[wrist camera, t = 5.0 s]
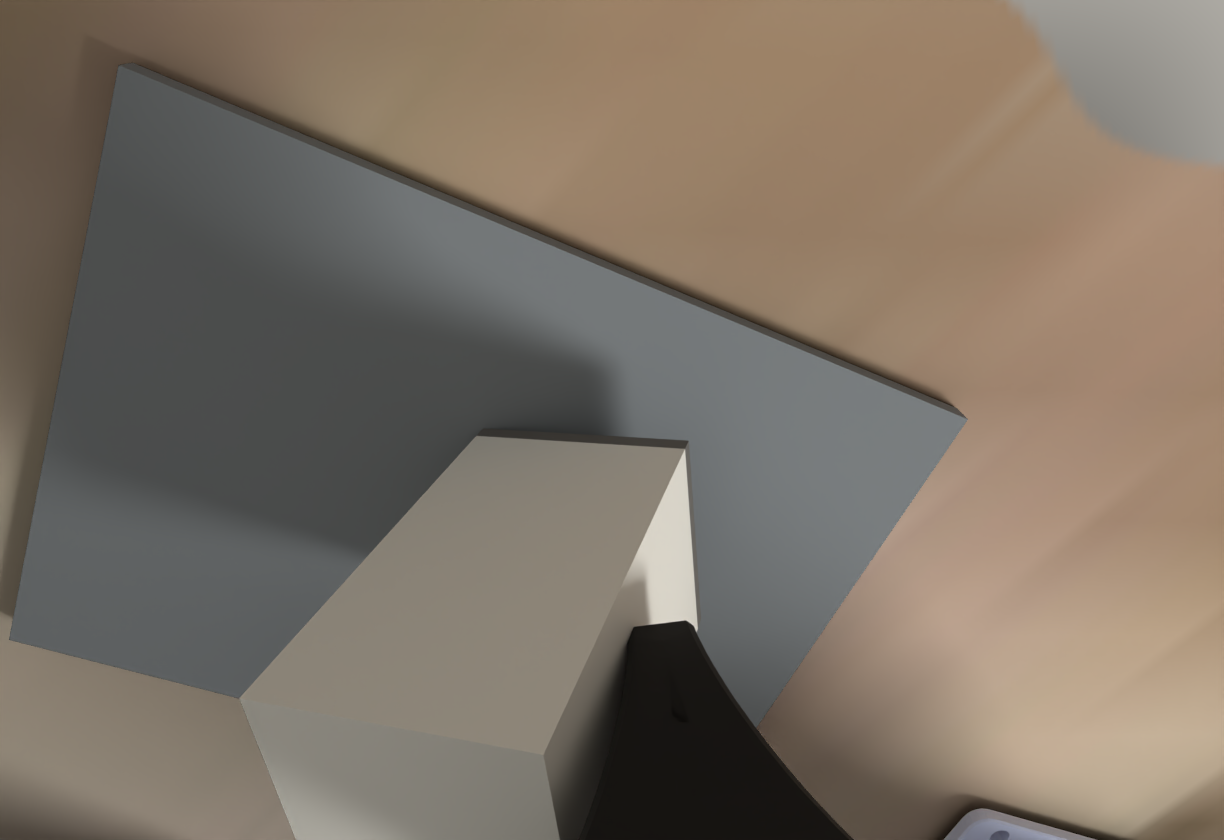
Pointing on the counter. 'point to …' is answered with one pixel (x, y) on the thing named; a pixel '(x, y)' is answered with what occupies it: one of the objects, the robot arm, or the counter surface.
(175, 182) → the rubber mat
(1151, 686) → the counter surface
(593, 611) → the cream block
